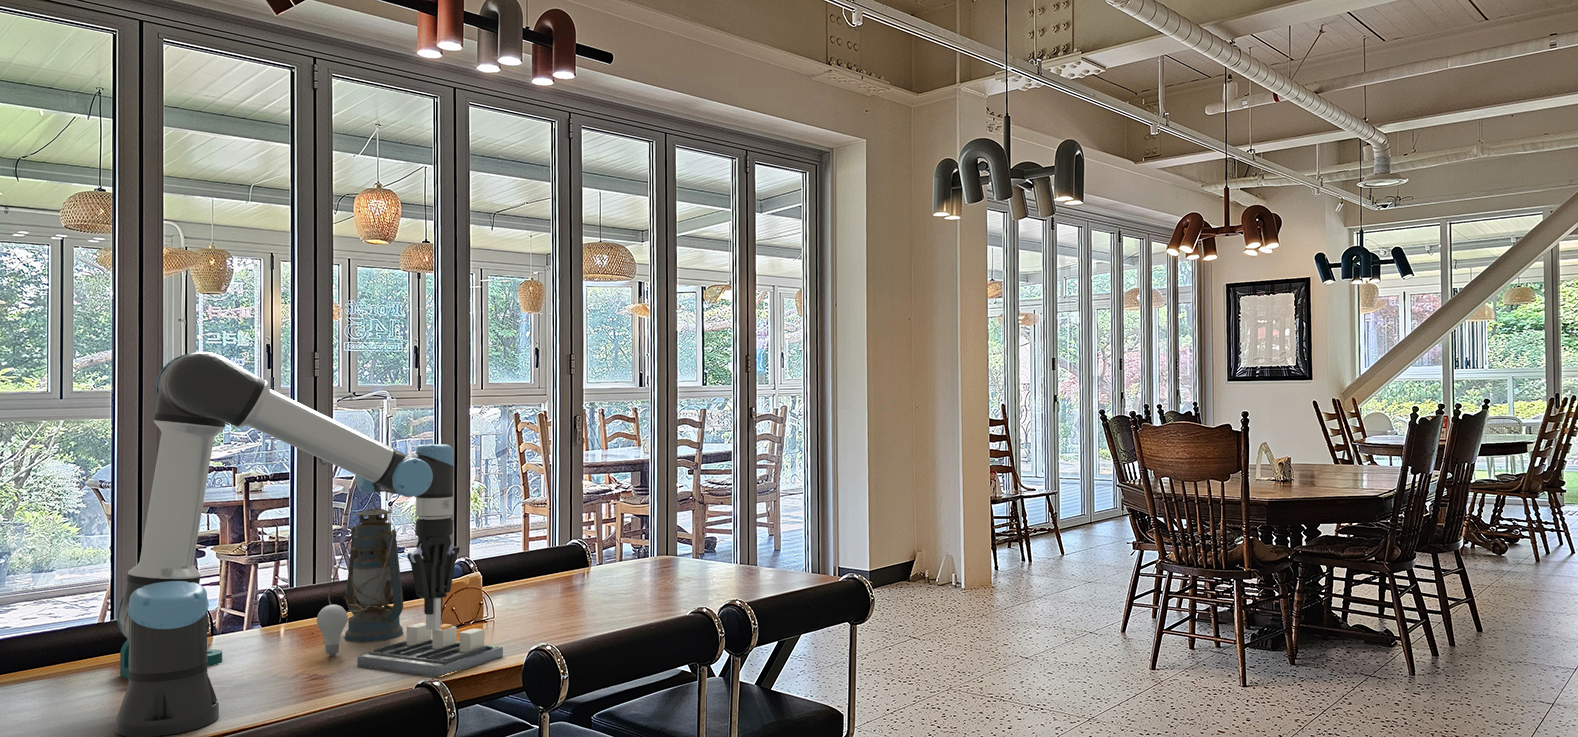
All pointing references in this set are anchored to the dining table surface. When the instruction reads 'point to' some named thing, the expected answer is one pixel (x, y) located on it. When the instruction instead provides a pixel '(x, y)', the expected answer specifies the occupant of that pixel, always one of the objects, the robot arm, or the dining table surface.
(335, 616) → the lightbulb
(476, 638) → the block
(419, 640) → the block
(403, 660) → the panel
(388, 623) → the lantern
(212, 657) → the bracket
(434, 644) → the block
